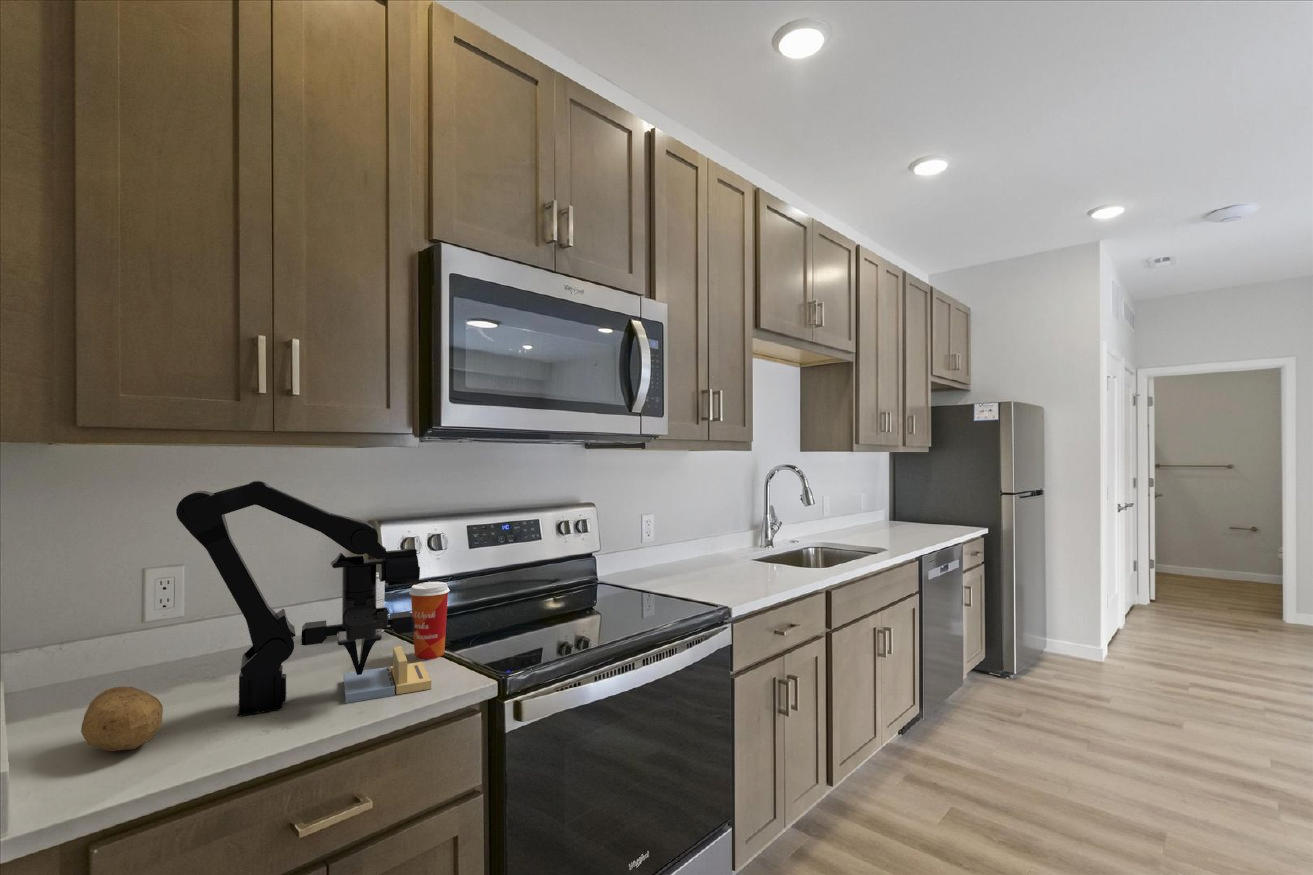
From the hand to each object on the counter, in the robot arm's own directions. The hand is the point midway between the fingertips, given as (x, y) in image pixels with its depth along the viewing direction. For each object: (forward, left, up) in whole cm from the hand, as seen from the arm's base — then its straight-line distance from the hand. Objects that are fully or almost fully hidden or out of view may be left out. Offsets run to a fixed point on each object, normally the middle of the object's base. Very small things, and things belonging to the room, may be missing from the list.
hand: (359, 674), depth 120 cm
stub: (+9, 0, -3) cm, 9 cm away
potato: (-32, -9, -3) cm, 34 cm away
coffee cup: (+15, +15, -3) cm, 21 cm away
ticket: (+2, 0, -3) cm, 3 cm away
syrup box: (+4, +39, -3) cm, 39 cm away
